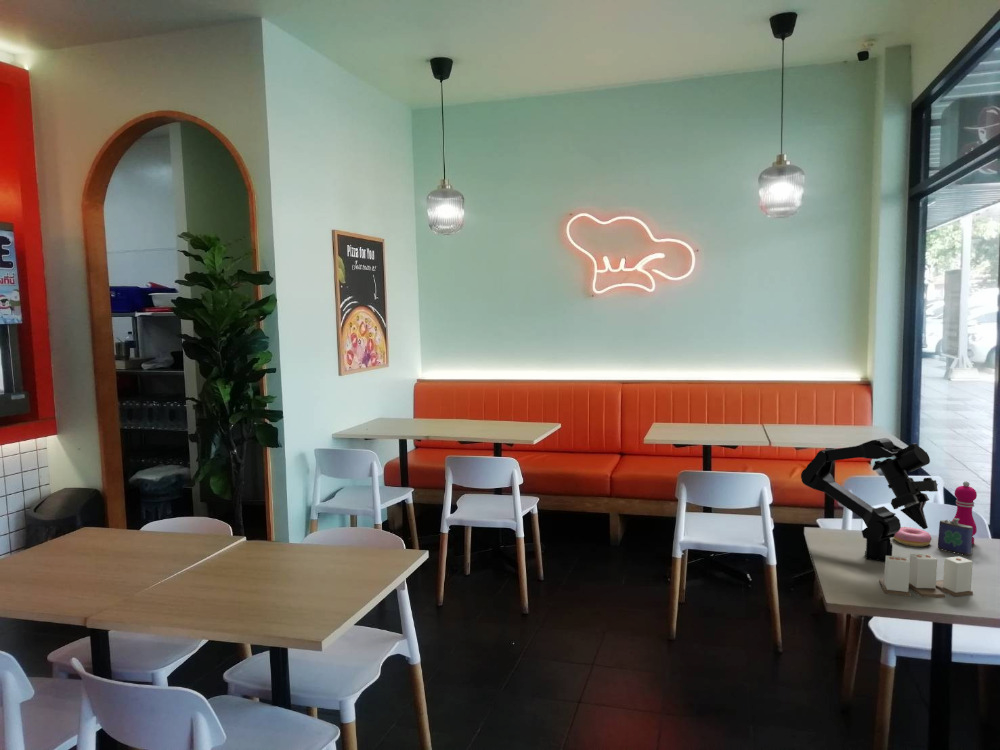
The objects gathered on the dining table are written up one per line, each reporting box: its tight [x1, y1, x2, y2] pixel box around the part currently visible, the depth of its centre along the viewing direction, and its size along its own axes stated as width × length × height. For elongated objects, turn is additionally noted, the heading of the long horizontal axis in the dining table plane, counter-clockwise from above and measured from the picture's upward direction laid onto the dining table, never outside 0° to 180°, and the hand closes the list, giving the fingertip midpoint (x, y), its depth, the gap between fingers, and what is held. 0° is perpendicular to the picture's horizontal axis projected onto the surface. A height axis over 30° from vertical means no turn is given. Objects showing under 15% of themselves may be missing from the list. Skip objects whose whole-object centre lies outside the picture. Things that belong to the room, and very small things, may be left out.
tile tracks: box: [878, 578, 974, 598], centre depth 192 cm, size 22×16×1 cm
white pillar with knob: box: [942, 556, 974, 593], centre depth 189 cm, size 4×5×8 cm
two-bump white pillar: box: [909, 553, 938, 588], centre depth 192 cm, size 4×5×8 cm
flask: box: [937, 517, 973, 556], centre depth 221 cm, size 9×3×11 cm, turn 37°
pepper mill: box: [951, 480, 978, 545], centre depth 230 cm, size 7×7×20 cm
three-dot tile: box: [884, 555, 910, 592], centre depth 190 cm, size 4×5×8 cm
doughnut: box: [893, 526, 933, 547], centre depth 230 cm, size 11×11×4 cm
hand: (925, 528), depth 203 cm, fingers closed
